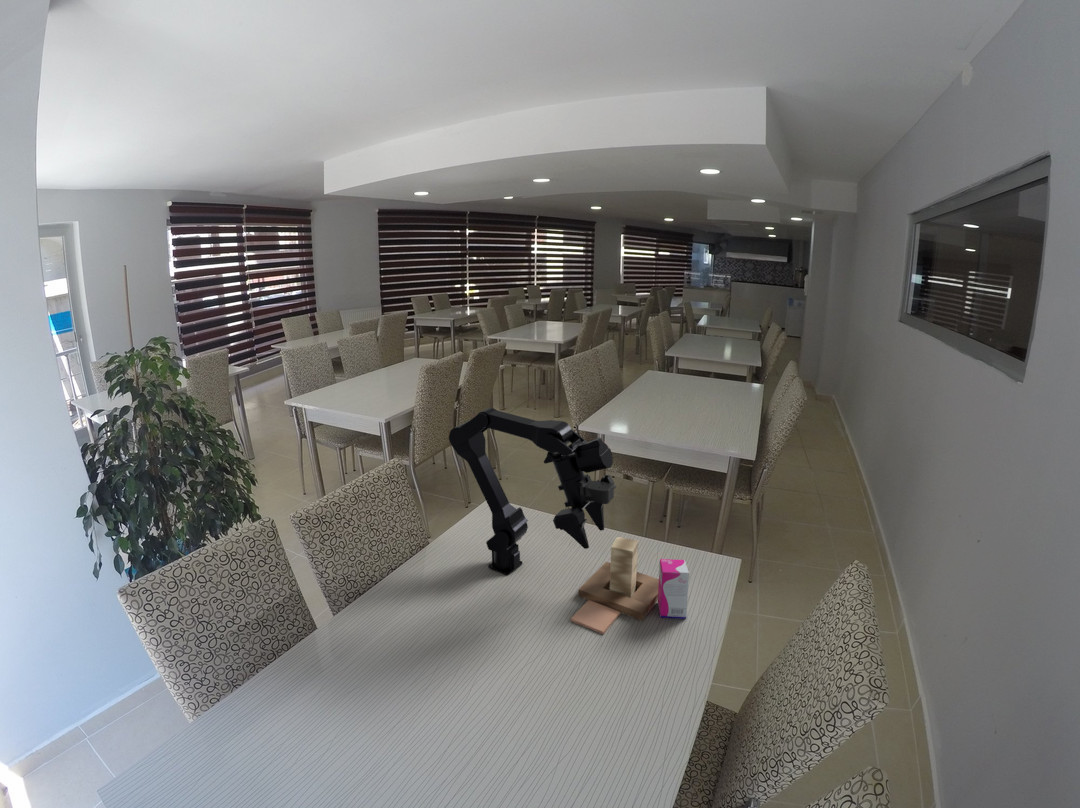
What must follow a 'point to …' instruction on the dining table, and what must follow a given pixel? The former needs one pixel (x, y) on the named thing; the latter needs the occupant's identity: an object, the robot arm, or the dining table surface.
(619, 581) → the maple block
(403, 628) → the dining table surface
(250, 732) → the dining table surface
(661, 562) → the supplement box
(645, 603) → the pocket board
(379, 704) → the dining table surface
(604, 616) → the terracotta tile
